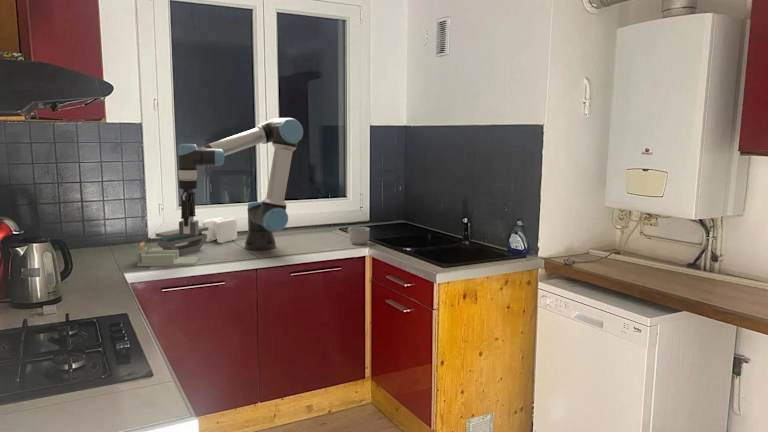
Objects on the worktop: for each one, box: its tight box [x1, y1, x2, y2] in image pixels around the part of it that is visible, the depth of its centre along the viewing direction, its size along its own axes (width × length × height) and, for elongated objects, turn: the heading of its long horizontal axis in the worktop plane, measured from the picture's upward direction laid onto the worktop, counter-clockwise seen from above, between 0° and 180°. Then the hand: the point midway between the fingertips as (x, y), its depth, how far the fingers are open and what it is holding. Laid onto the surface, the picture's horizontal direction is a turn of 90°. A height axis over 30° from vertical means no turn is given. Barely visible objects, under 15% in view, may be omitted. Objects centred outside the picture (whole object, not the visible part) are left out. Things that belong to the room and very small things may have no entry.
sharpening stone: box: [154, 225, 209, 257], centre depth 284 cm, size 25×8×11 cm, turn 151°
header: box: [136, 241, 201, 267], centre depth 264 cm, size 24×12×9 cm, turn 97°
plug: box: [178, 219, 199, 236], centre depth 264 cm, size 7×5×6 cm
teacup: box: [347, 226, 371, 246], centre depth 312 cm, size 14×11×8 cm
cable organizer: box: [202, 217, 238, 244], centre depth 312 cm, size 15×11×12 cm
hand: (188, 232), depth 264 cm, fingers closed on plug, 5 cm apart
